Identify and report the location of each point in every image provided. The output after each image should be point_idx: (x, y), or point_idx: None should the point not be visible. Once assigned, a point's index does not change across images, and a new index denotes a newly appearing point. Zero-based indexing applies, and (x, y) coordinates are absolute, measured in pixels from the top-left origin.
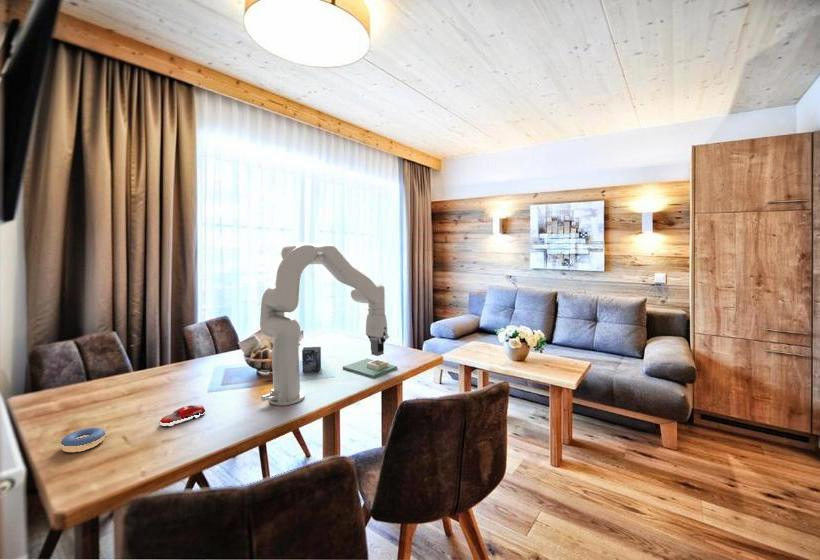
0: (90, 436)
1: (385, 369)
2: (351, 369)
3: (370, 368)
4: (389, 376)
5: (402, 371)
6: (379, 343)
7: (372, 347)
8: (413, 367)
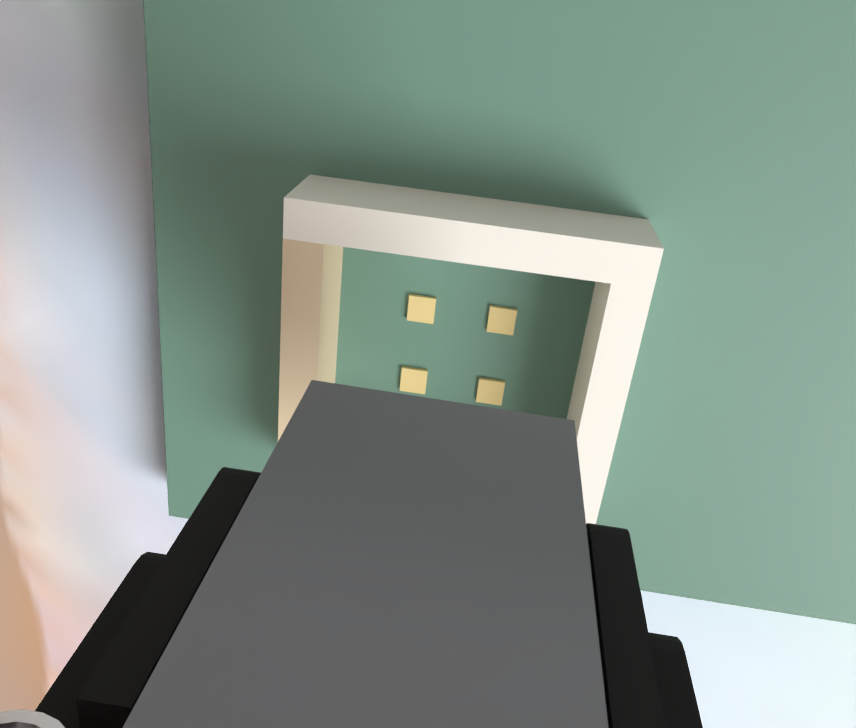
0: None
1: (210, 285)
2: None
3: (515, 183)
4: (3, 106)
5: (34, 427)
6: (56, 720)
7: (519, 562)
8: (47, 627)
